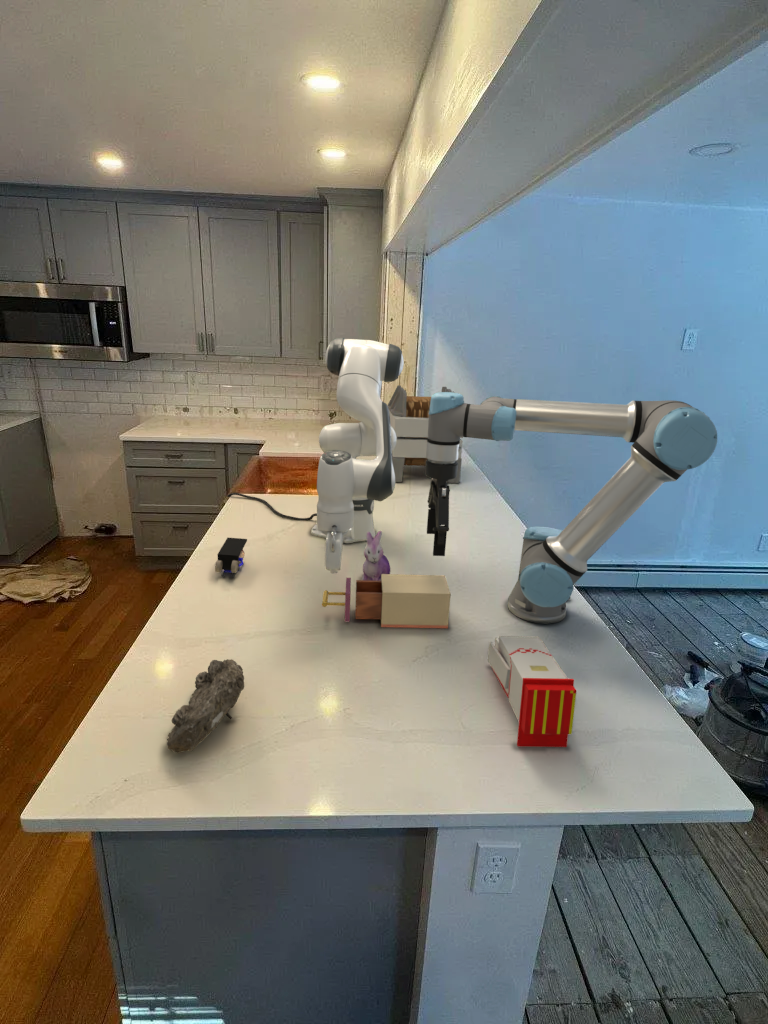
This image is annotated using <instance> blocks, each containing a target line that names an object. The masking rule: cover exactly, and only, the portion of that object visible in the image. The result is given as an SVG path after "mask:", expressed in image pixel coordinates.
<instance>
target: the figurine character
mask: <svg viewBox="0 0 768 1024" xmlns="http://www.w3.org/2000/svg"><path fill="white" fill-rule="evenodd" d="M247 542H248V538H240V537H226V539H225V541H224V543H223V544H222V546H221V547H220V549H219V551H218V552H217V560H216V562H215V564H214V572H215V573H221V577H222V578H224V577H225V576H226V574H227V573H230V574H231V573H232V574H231V578H234V577H235V575H236V573H237V572H239V571H240V567H242V566H243V565H244V564H245V562H244V558H245V551H244V547H245V546H246V544H247Z"/></svg>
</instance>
